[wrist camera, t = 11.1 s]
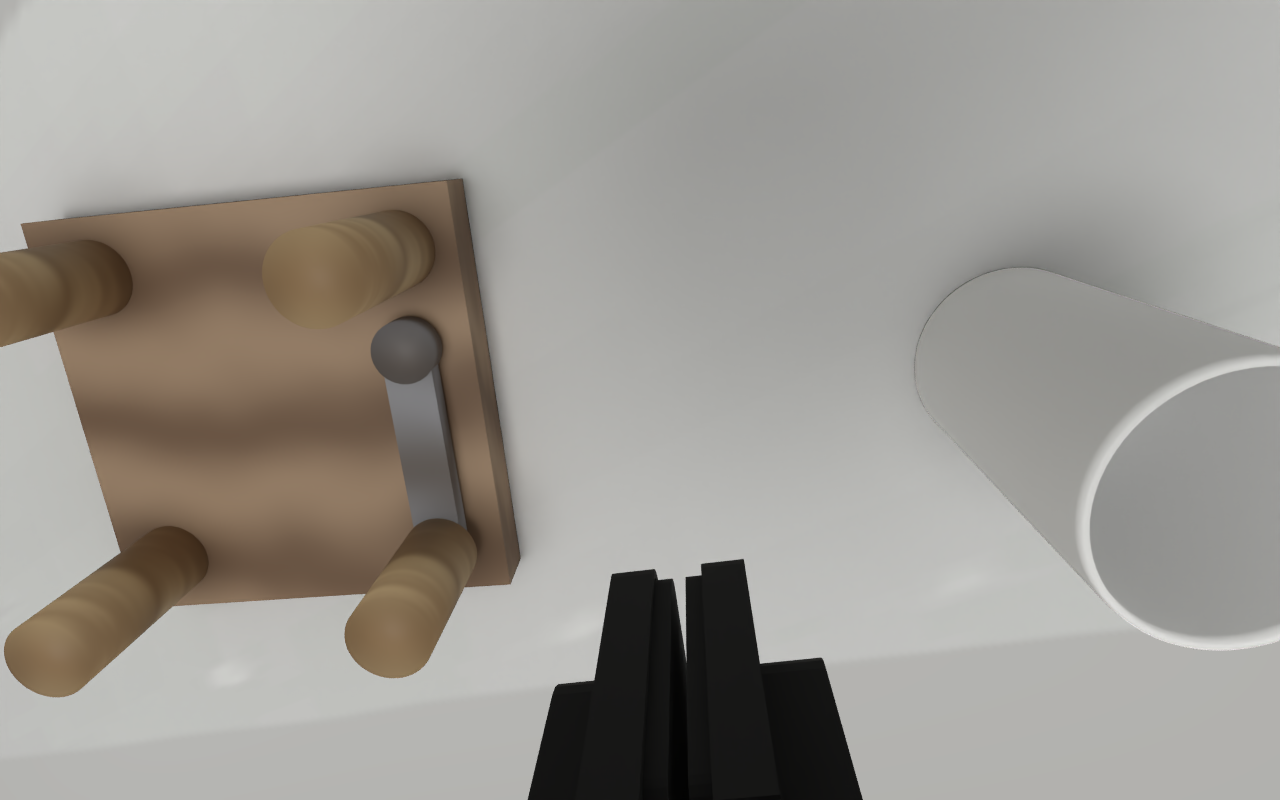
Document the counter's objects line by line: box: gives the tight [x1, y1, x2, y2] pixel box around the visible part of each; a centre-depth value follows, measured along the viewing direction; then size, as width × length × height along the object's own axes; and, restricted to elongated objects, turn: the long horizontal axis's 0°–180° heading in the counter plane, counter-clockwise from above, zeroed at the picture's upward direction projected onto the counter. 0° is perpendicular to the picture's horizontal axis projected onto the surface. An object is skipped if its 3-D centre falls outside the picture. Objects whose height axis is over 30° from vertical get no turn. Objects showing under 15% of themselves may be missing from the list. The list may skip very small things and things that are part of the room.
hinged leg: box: [345, 316, 477, 678], centre depth 32 cm, size 12×3×8 cm, turn 6°
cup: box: [915, 267, 1280, 650], centre depth 29 cm, size 8×8×16 cm
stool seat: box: [0, 179, 520, 697], centre depth 33 cm, size 18×18×11 cm
